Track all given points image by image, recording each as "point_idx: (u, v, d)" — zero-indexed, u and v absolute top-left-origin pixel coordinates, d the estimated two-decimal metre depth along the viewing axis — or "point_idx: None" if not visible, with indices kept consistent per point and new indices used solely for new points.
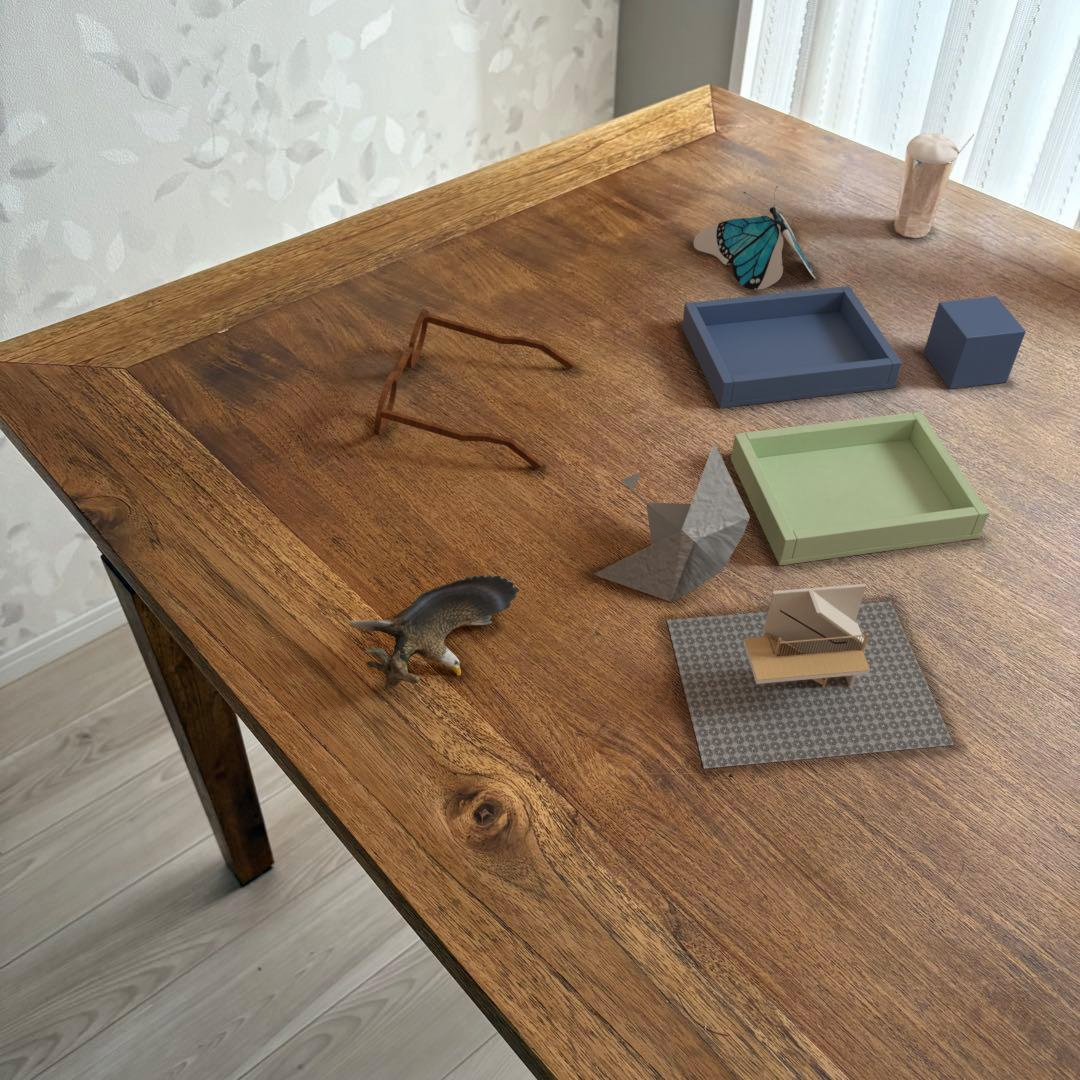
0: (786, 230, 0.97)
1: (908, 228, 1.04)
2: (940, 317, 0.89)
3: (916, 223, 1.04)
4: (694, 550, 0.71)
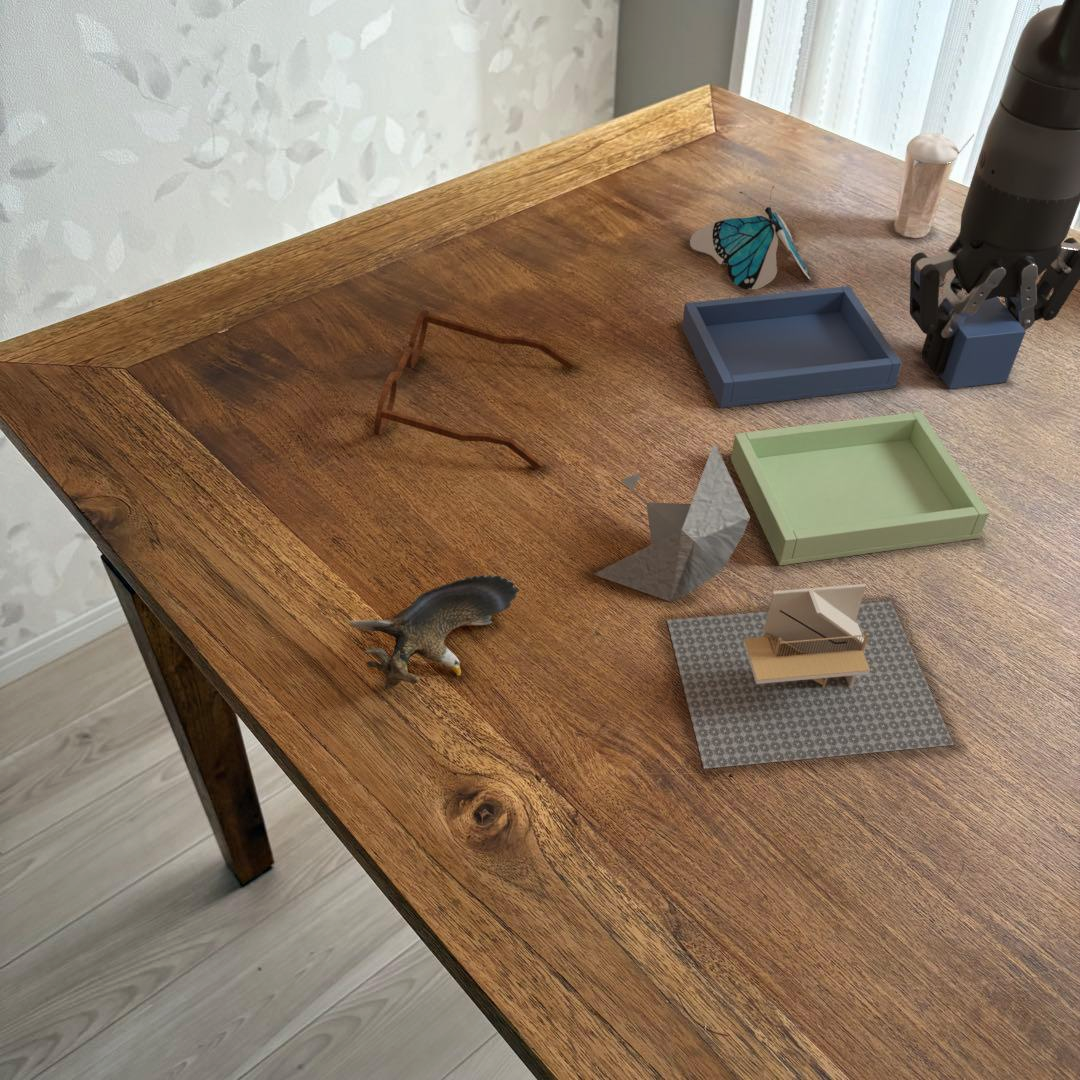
0: (781, 230, 0.97)
1: (908, 228, 1.04)
2: None
3: (916, 223, 1.04)
4: (694, 550, 0.71)
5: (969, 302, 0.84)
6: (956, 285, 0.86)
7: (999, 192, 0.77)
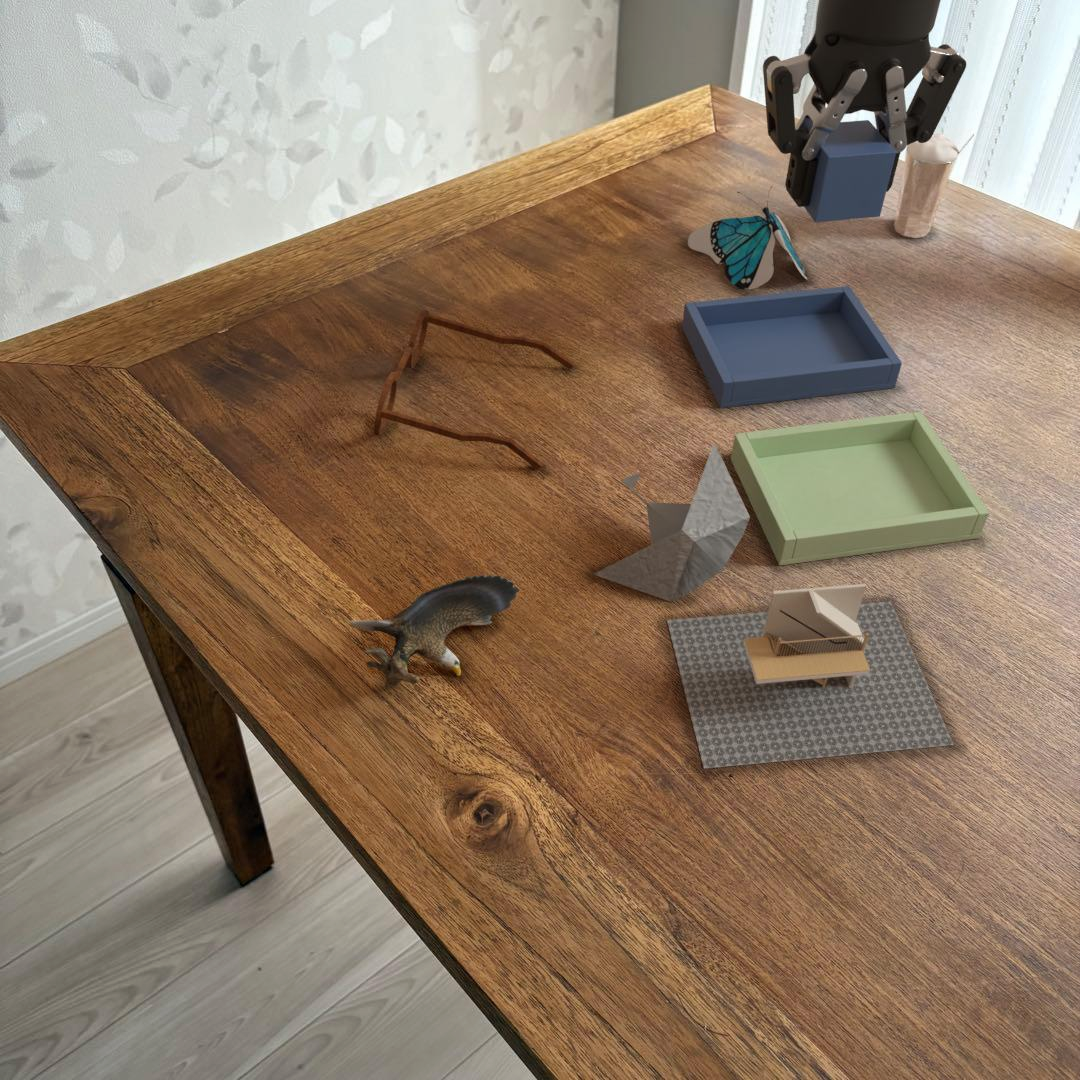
0: (778, 230, 0.97)
1: (908, 228, 1.04)
2: None
3: (916, 223, 1.04)
4: (694, 550, 0.71)
5: (829, 113, 0.75)
6: (818, 100, 0.77)
7: None
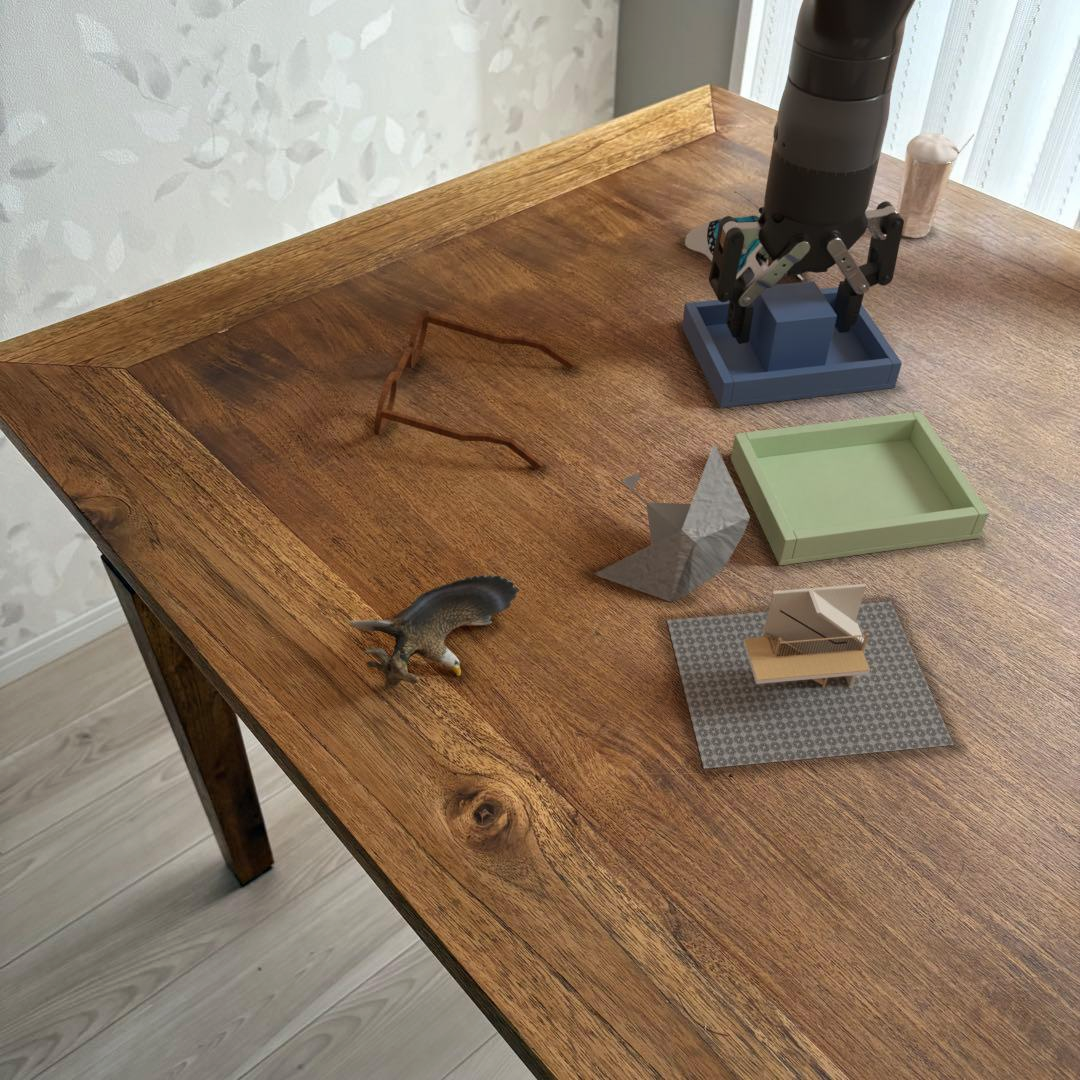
0: None
1: (908, 228, 1.04)
2: (757, 302, 0.89)
3: (916, 223, 1.04)
4: (694, 550, 0.71)
5: (770, 272, 0.84)
6: (761, 256, 0.86)
7: (791, 165, 0.77)
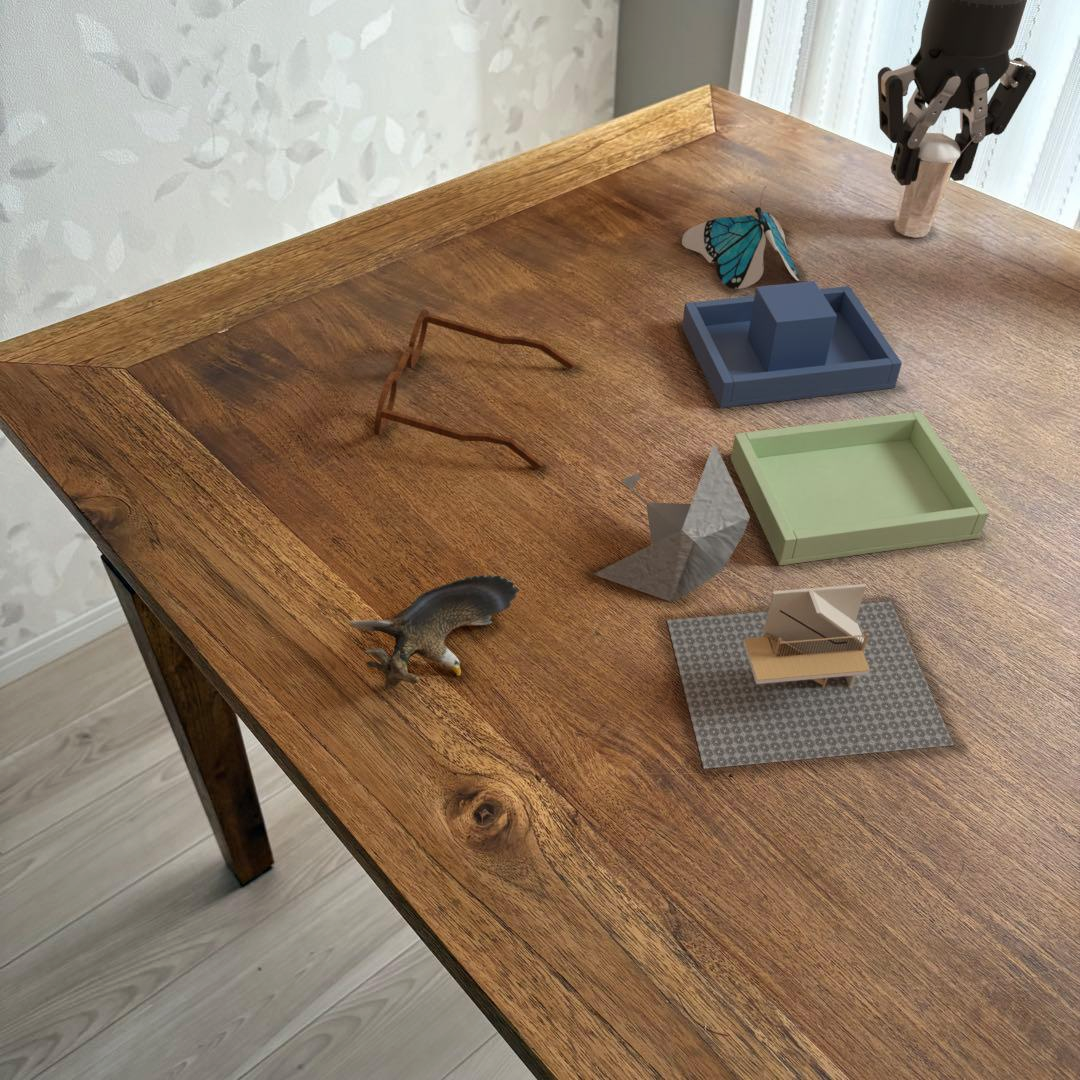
0: (769, 230, 0.97)
1: (908, 227, 1.04)
2: (757, 302, 0.89)
3: (916, 223, 1.04)
4: (694, 550, 0.71)
5: (930, 111, 0.96)
6: (919, 100, 0.98)
7: (952, 0, 0.89)
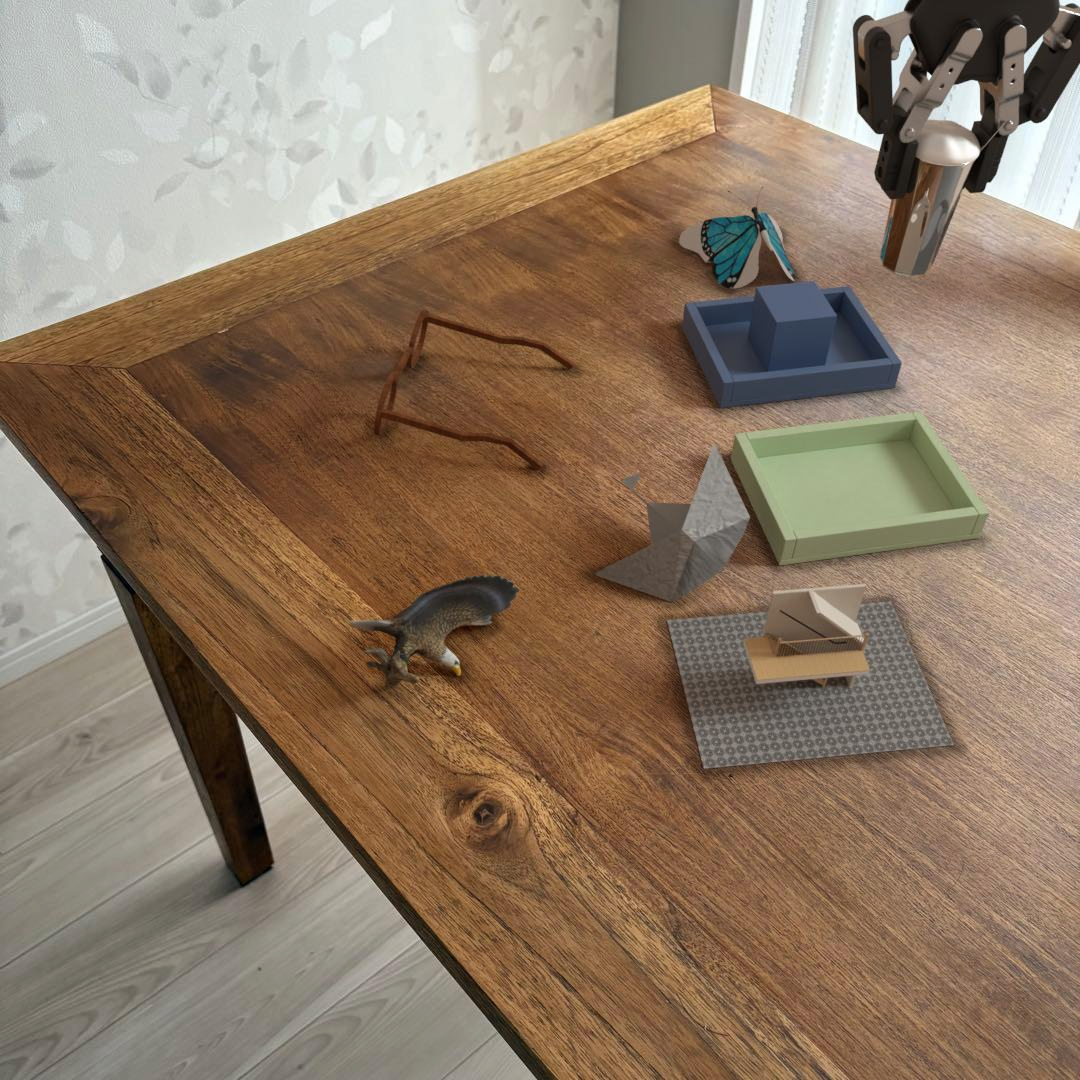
0: (764, 230, 0.97)
1: (901, 261, 0.70)
2: (757, 302, 0.89)
3: (913, 255, 0.70)
4: (694, 550, 0.71)
5: (934, 84, 0.61)
6: (918, 69, 0.63)
7: None
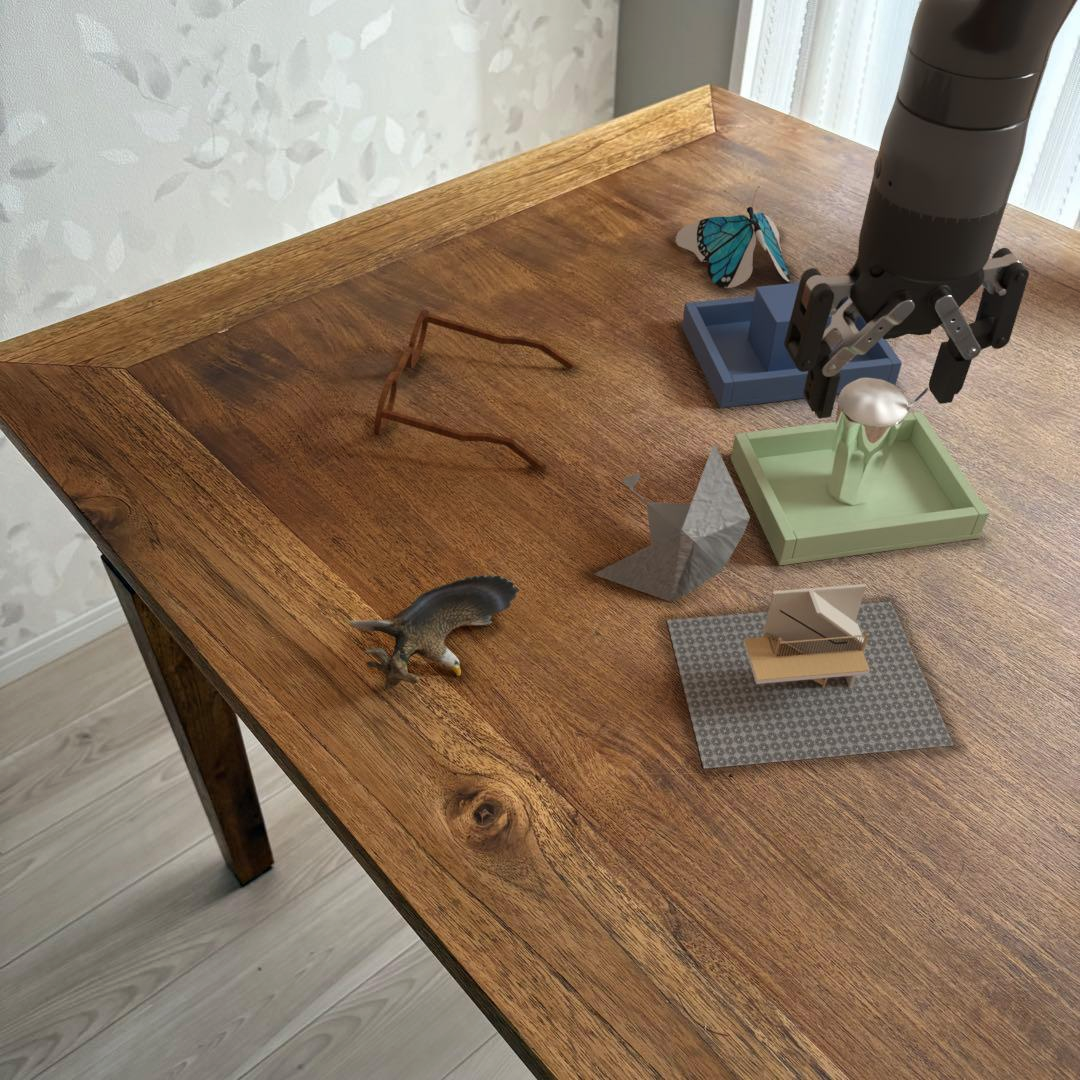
0: (759, 230, 0.97)
1: (844, 494, 0.78)
2: (757, 302, 0.89)
3: (853, 489, 0.78)
4: (694, 550, 0.71)
5: (864, 336, 0.68)
6: (849, 315, 0.70)
7: (898, 209, 0.62)
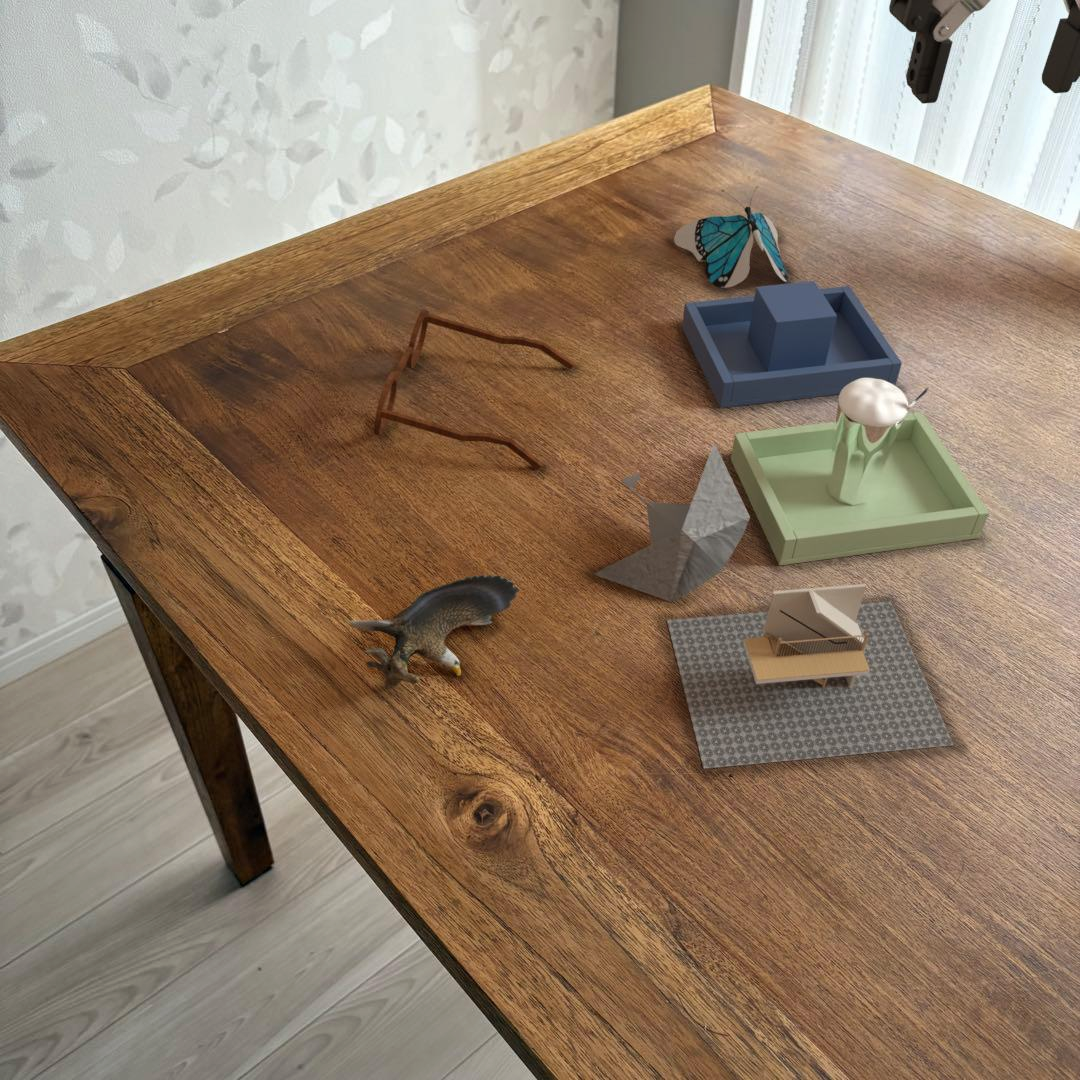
0: (756, 230, 0.97)
1: (844, 494, 0.78)
2: (757, 302, 0.89)
3: (853, 489, 0.78)
4: (694, 550, 0.71)
5: None
6: None
7: None
